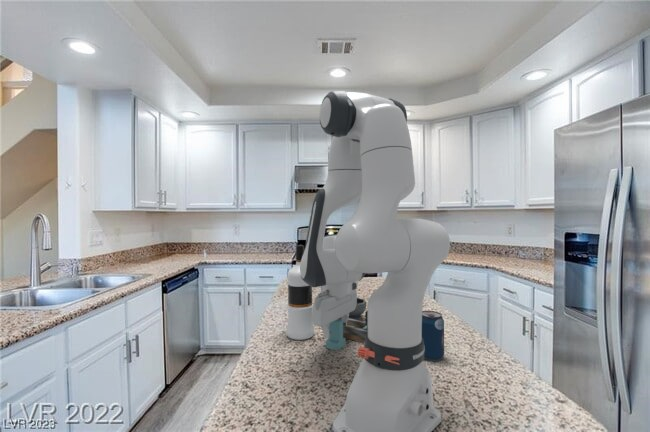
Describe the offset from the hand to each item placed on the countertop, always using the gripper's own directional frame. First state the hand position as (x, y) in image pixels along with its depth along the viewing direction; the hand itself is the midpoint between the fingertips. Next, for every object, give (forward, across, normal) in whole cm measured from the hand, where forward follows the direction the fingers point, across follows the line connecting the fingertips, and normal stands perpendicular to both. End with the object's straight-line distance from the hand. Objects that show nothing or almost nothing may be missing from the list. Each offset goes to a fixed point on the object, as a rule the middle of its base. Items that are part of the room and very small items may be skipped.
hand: (335, 332), depth 95 cm
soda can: (+4, +9, -26) cm, 28 cm away
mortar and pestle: (+4, +25, +8) cm, 26 cm away
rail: (+4, +11, -1) cm, 11 cm away
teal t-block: (+4, 0, 0) cm, 4 cm away
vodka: (+4, 0, +14) cm, 15 cm away
